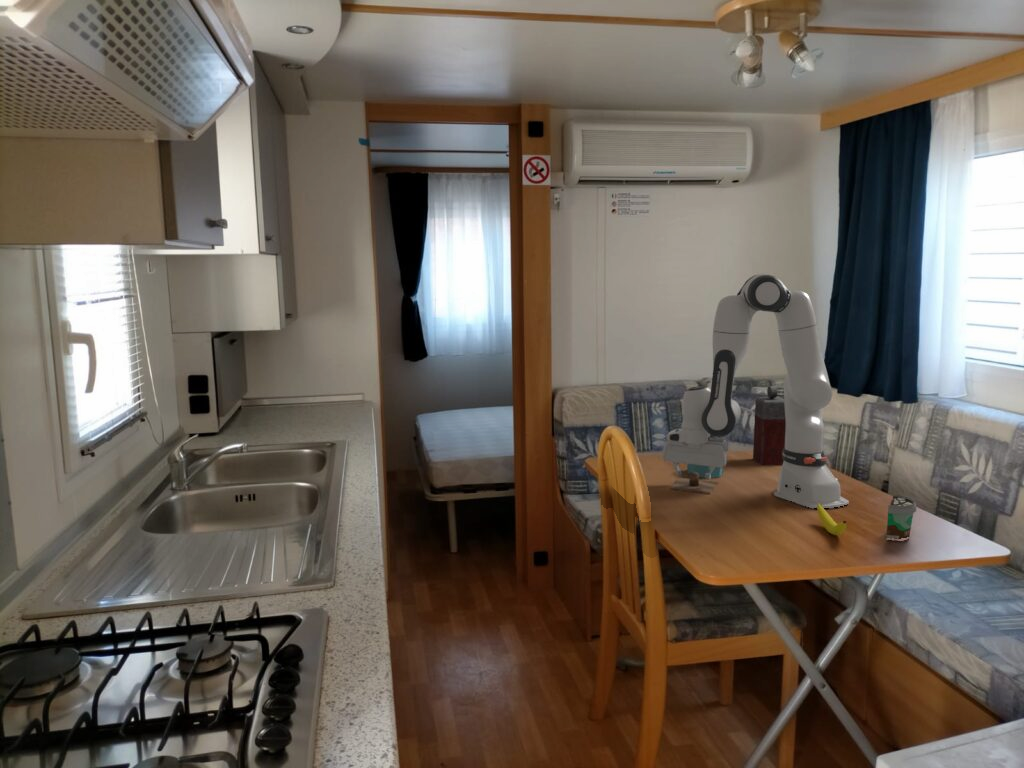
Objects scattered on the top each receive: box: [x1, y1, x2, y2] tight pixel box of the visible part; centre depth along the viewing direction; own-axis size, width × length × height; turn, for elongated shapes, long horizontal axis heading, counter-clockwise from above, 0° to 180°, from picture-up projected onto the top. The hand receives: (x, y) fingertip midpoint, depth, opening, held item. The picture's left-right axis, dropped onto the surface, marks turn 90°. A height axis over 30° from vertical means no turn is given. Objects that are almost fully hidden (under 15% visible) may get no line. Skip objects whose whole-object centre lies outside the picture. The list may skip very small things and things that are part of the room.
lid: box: [669, 472, 719, 495], centre depth 245 cm, size 13×13×5 cm
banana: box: [817, 503, 847, 536], centre depth 203 cm, size 3×19×6 cm, turn 178°
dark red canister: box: [752, 385, 786, 466], centre depth 272 cm, size 9×11×28 cm
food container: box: [885, 493, 917, 539], centre depth 199 cm, size 12×6×10 cm, turn 148°
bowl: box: [686, 464, 724, 479], centre depth 259 cm, size 11×11×5 cm
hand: (693, 477), depth 245 cm, fingers open, 8 cm apart
